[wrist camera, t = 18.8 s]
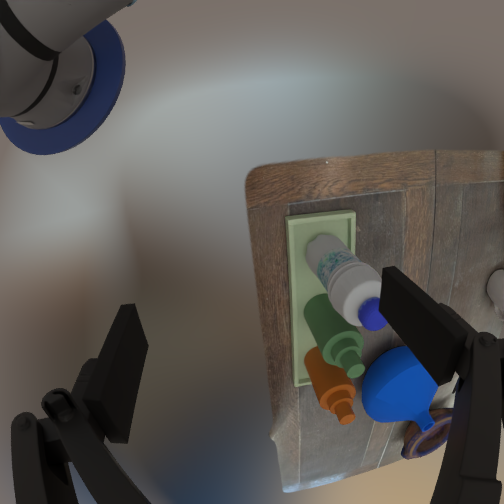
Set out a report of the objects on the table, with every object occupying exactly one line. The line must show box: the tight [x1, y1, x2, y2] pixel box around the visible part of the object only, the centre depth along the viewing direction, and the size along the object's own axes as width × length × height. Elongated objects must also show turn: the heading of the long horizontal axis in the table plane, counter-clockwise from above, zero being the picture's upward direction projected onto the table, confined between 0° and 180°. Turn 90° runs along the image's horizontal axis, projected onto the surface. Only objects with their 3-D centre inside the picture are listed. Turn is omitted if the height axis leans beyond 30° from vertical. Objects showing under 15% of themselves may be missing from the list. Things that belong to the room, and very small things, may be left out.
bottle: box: [305, 234, 388, 331], centre depth 39 cm, size 7×7×20 cm
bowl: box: [401, 408, 453, 459], centre depth 69 cm, size 18×18×10 cm
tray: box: [285, 209, 356, 387], centre depth 52 cm, size 34×11×2 cm, turn 6°
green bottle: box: [304, 293, 365, 378], centre depth 45 cm, size 6×6×16 cm
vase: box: [362, 346, 439, 432], centre depth 52 cm, size 18×18×19 cm
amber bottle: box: [304, 346, 356, 425], centre depth 49 cm, size 6×6×16 cm
